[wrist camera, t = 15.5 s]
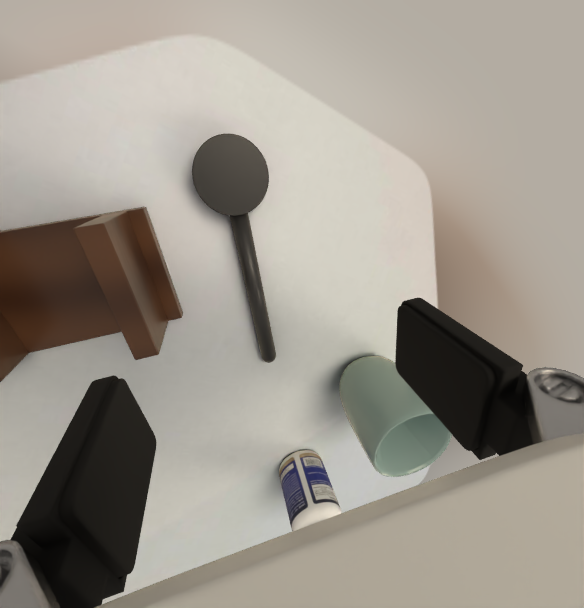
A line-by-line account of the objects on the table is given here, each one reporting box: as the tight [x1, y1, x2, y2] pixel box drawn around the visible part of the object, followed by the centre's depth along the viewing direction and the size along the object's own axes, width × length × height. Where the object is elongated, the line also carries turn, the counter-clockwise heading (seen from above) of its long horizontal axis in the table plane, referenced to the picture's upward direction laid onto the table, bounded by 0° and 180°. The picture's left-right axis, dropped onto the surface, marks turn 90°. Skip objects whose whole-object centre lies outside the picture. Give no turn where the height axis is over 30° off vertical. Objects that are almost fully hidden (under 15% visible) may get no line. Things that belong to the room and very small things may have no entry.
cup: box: [339, 356, 452, 477], centre depth 29 cm, size 8×8×10 cm
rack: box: [0, 207, 183, 382], centre depth 20 cm, size 9×17×6 cm, turn 98°
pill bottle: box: [279, 450, 341, 531], centre depth 33 cm, size 6×6×10 cm
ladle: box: [192, 134, 276, 363], centre depth 24 cm, size 5×20×2 cm, turn 8°
